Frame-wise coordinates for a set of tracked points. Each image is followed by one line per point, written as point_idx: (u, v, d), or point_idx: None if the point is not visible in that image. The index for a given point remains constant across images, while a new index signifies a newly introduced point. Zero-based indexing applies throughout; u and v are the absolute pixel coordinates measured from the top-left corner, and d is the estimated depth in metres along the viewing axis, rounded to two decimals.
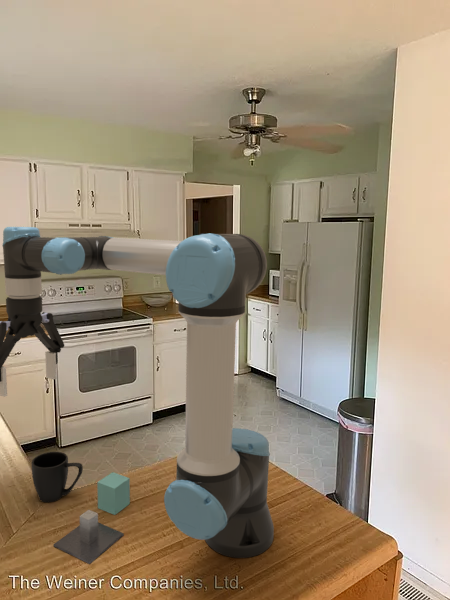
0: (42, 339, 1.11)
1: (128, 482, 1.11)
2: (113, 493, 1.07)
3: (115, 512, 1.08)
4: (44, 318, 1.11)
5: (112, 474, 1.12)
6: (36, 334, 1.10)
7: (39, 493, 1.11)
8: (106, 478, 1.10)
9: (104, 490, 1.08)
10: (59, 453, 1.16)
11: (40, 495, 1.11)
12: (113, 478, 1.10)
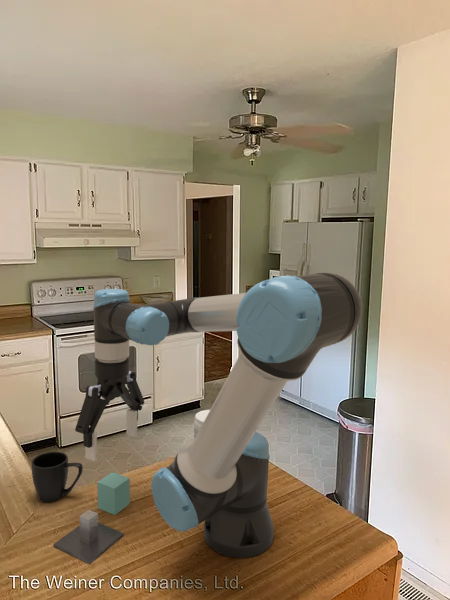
0: (125, 398, 1.11)
1: (128, 482, 1.11)
2: (113, 493, 1.07)
3: (115, 512, 1.08)
4: (128, 377, 1.10)
5: (112, 474, 1.12)
6: (120, 394, 1.10)
7: (39, 493, 1.11)
8: (106, 478, 1.10)
9: (104, 490, 1.08)
10: (59, 453, 1.16)
11: (40, 495, 1.11)
12: (113, 478, 1.10)
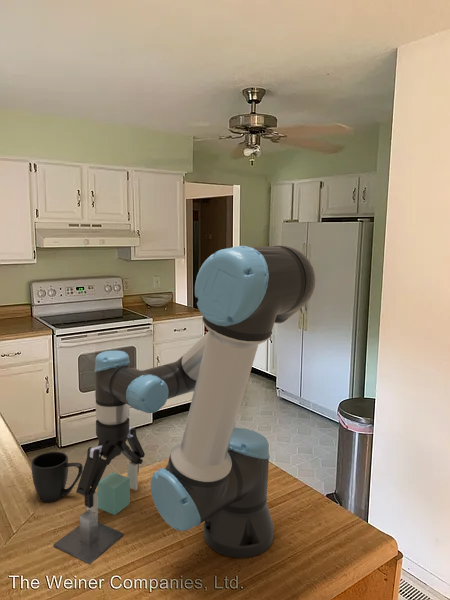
0: (126, 454, 1.13)
1: (128, 482, 1.11)
2: (113, 493, 1.07)
3: (115, 512, 1.08)
4: (128, 434, 1.13)
5: (112, 474, 1.12)
6: None
7: (39, 493, 1.11)
8: (106, 478, 1.10)
9: (104, 490, 1.08)
10: (59, 453, 1.16)
11: (40, 495, 1.11)
12: (113, 478, 1.10)
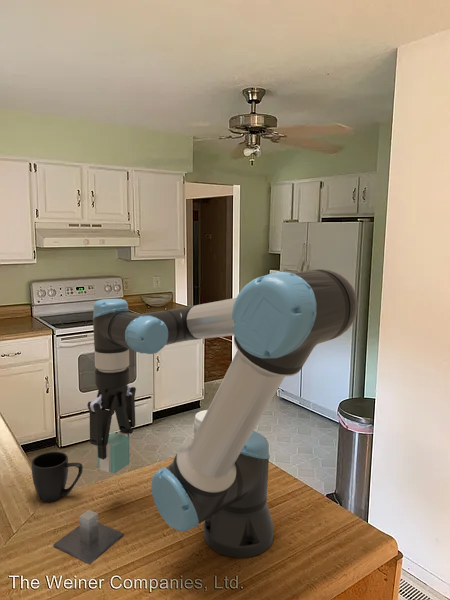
0: (120, 415, 1.09)
1: (128, 441, 1.09)
2: (112, 451, 1.05)
3: (115, 471, 1.06)
4: (128, 390, 1.10)
5: (112, 434, 1.10)
6: (117, 407, 1.08)
7: (39, 493, 1.11)
8: None
9: None
10: (59, 453, 1.16)
11: (40, 495, 1.11)
12: (112, 437, 1.09)
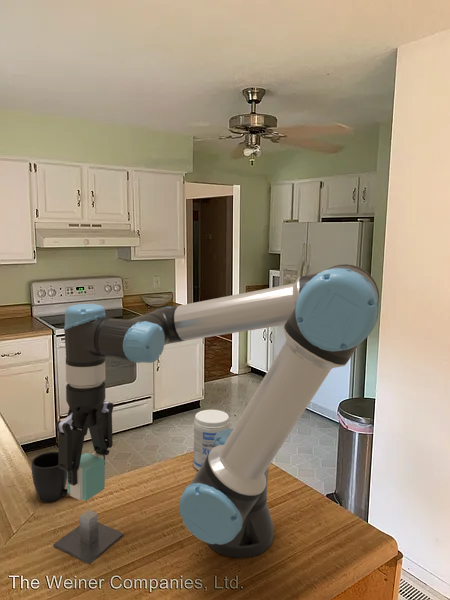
0: (95, 434, 0.97)
1: (103, 464, 0.97)
2: (84, 476, 0.93)
3: (87, 498, 0.94)
4: (104, 407, 0.98)
5: (85, 455, 0.98)
6: (91, 426, 0.96)
7: (39, 493, 1.11)
8: None
9: None
10: None
11: (40, 495, 1.11)
12: (85, 459, 0.96)
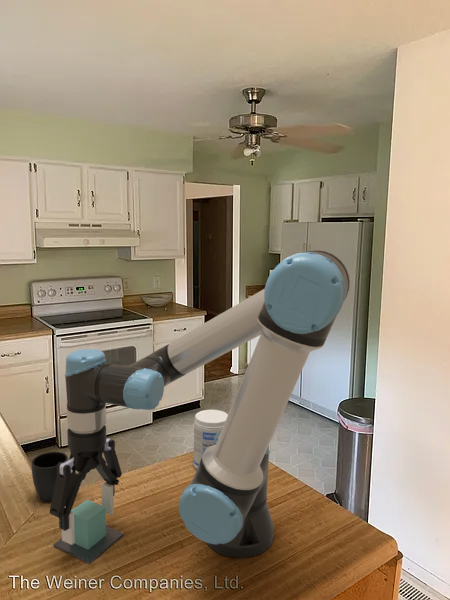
0: (101, 471, 0.99)
1: (104, 511, 0.98)
2: (86, 525, 0.94)
3: (88, 546, 0.95)
4: (106, 446, 1.00)
5: (86, 502, 1.00)
6: None
7: (39, 493, 1.11)
8: (79, 507, 0.98)
9: (76, 521, 0.96)
10: (59, 453, 1.16)
11: (40, 495, 1.11)
12: (87, 507, 0.98)
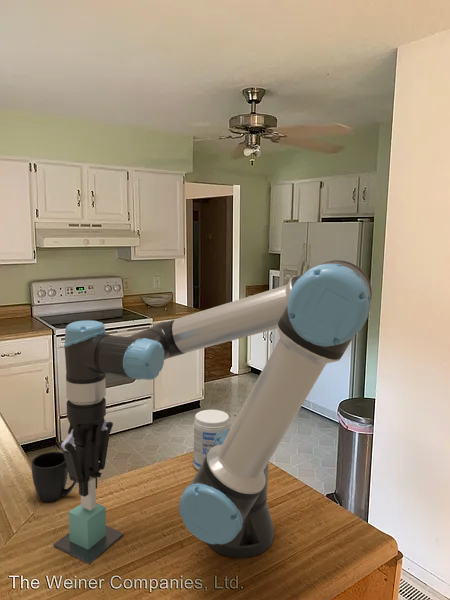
0: (90, 453, 0.96)
1: (104, 511, 0.98)
2: (86, 525, 0.94)
3: (88, 546, 0.95)
4: (104, 424, 0.98)
5: None
6: None
7: (39, 493, 1.11)
8: (79, 507, 0.98)
9: (76, 521, 0.96)
10: (59, 453, 1.16)
11: (40, 495, 1.11)
12: None
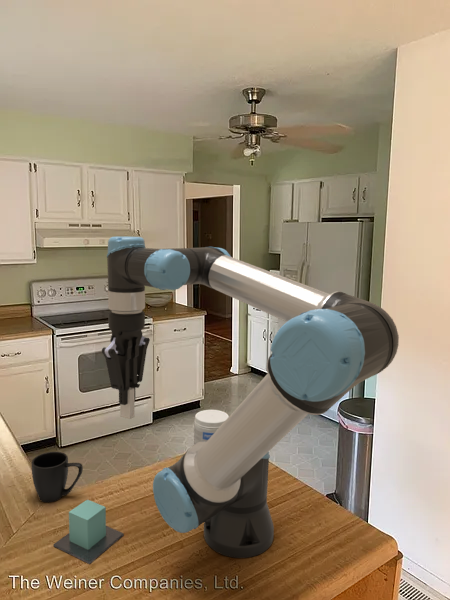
0: (130, 364, 1.01)
1: (104, 511, 0.98)
2: (86, 525, 0.94)
3: (88, 546, 0.95)
4: (141, 339, 1.03)
5: (86, 502, 1.00)
6: None
7: (39, 493, 1.11)
8: (79, 507, 0.98)
9: (76, 521, 0.96)
10: (59, 453, 1.16)
11: (40, 495, 1.11)
12: (87, 507, 0.98)
